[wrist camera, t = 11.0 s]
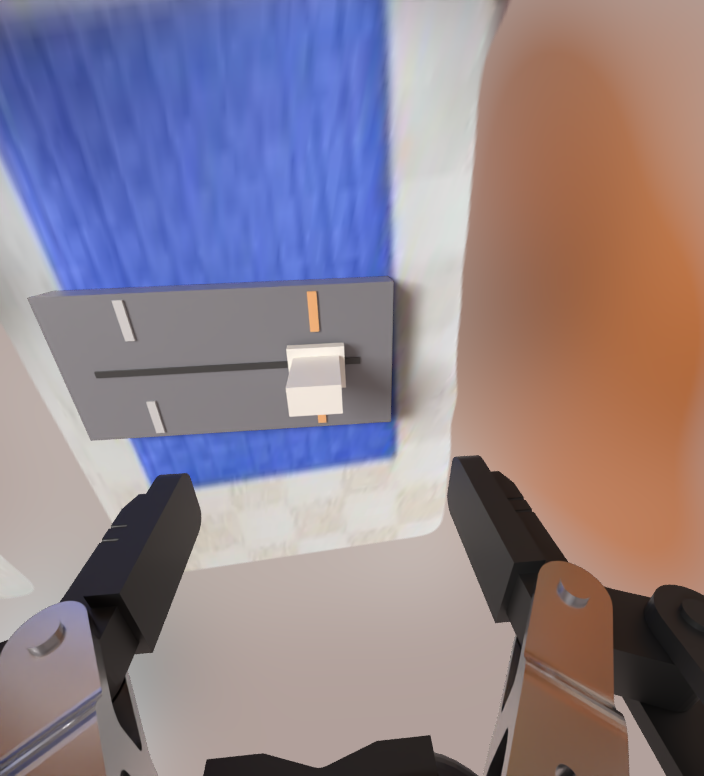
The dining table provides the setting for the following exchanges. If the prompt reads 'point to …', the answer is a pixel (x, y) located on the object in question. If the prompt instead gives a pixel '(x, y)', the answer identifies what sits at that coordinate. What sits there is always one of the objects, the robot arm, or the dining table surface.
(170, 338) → the fader console
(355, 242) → the dining table surface
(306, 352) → the fader tab
